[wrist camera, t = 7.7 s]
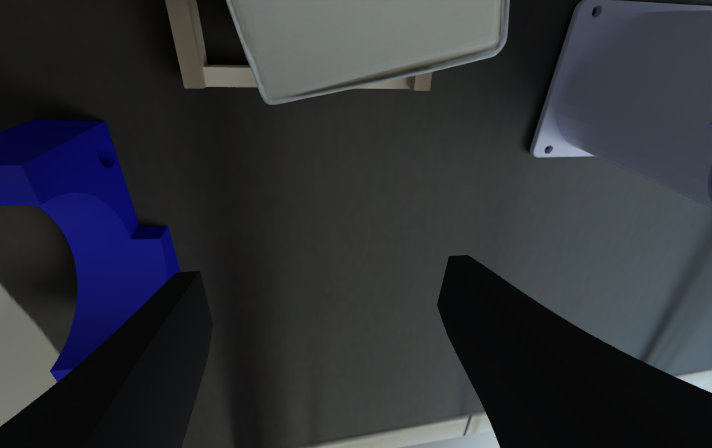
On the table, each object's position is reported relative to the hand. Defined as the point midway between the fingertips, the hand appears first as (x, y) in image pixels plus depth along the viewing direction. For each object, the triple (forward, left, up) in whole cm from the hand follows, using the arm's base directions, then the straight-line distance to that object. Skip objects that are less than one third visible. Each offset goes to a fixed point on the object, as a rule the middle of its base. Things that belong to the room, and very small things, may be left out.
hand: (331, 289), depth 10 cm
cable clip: (+11, +4, -11) cm, 16 cm away
